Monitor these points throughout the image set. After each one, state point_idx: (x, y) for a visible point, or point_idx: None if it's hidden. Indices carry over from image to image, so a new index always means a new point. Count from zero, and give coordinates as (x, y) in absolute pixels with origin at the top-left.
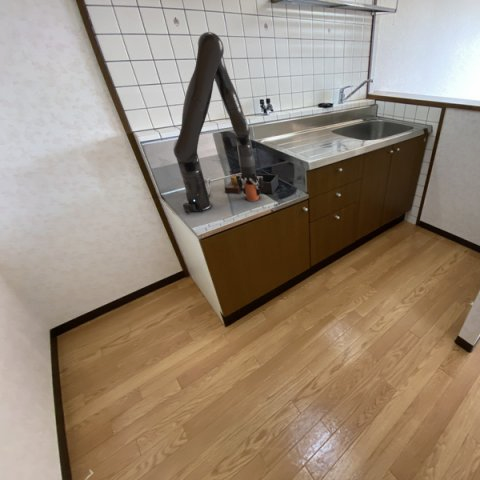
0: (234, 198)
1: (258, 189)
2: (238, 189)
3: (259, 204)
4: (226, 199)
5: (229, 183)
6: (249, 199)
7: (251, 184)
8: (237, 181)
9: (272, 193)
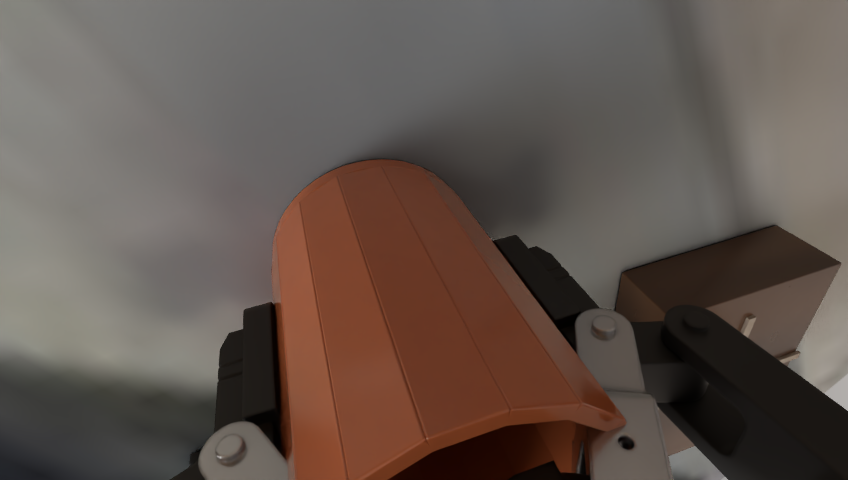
0: (638, 134)
1: (229, 429)
2: (654, 313)
3: (78, 108)
4: (743, 58)
5: (787, 356)
6: (376, 169)
7: (477, 473)
8: (827, 403)
9: (192, 459)
